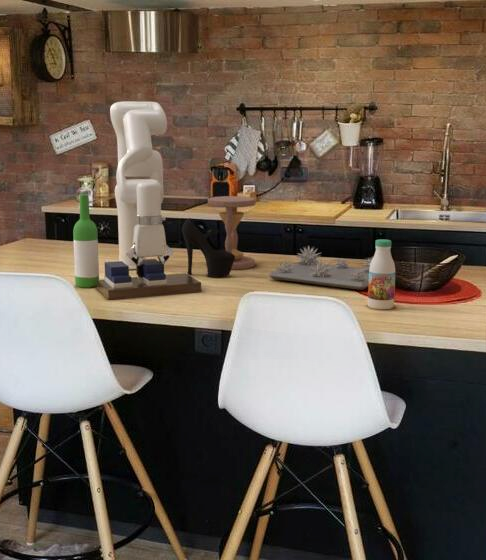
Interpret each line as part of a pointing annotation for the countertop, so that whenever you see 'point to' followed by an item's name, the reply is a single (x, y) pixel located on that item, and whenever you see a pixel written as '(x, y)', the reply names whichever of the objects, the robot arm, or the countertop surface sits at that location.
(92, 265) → the wine bottle
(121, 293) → the dark brown flat board
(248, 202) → the hourglass
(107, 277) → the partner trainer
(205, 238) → the high-heeled shoe
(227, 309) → the countertop surface
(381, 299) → the milk bottle
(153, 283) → the blue pale-edged block
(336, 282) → the decorative tray
